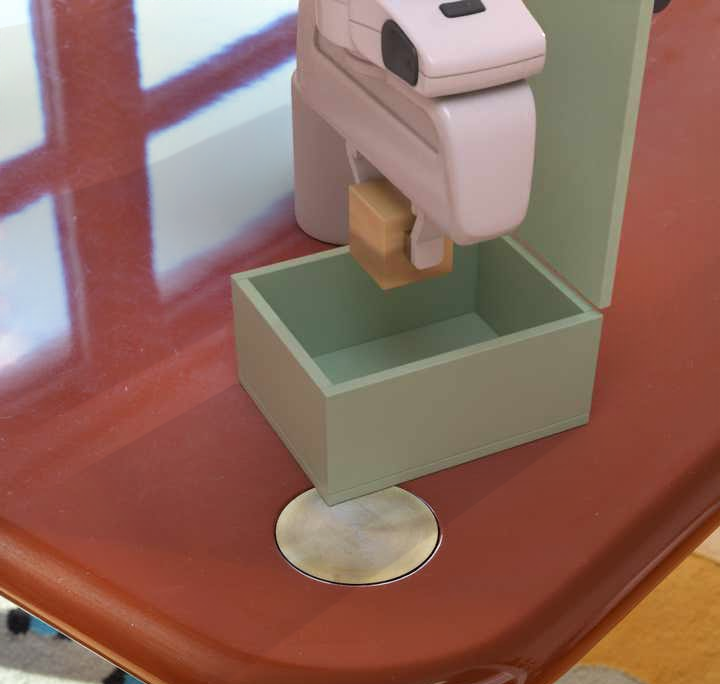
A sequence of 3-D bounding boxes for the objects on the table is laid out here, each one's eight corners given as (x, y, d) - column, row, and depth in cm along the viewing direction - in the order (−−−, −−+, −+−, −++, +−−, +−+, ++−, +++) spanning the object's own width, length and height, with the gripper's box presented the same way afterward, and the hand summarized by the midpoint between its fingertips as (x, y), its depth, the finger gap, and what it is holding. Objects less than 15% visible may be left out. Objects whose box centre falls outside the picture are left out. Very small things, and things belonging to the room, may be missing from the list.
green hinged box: (328, 506, 78) (326, 396, 72) (238, 380, 87) (229, 274, 81) (589, 423, 83) (604, 315, 78) (478, 313, 92) (485, 209, 87)
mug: (425, 235, 100) (430, 92, 92) (314, 255, 98) (310, 110, 90) (372, 163, 108) (373, 26, 101) (269, 179, 106) (262, 41, 99)
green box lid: (644, -17, 65) (728, -34, 67) (500, -101, 74) (577, -114, 76) (599, 310, 78) (671, 289, 79) (480, 204, 87) (547, 188, 88)
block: (383, 291, 76) (384, 220, 73) (349, 254, 79) (348, 185, 76) (452, 272, 77) (456, 202, 74) (416, 237, 80) (418, 168, 77)
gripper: (262, -65, 73) (274, 171, 83) (446, 79, 60) (435, 342, 69) (367, -83, 75) (367, 150, 85) (568, 53, 62) (541, 312, 71)
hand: (399, 238), depth 77 cm, fingers closed on block, 4 cm apart
